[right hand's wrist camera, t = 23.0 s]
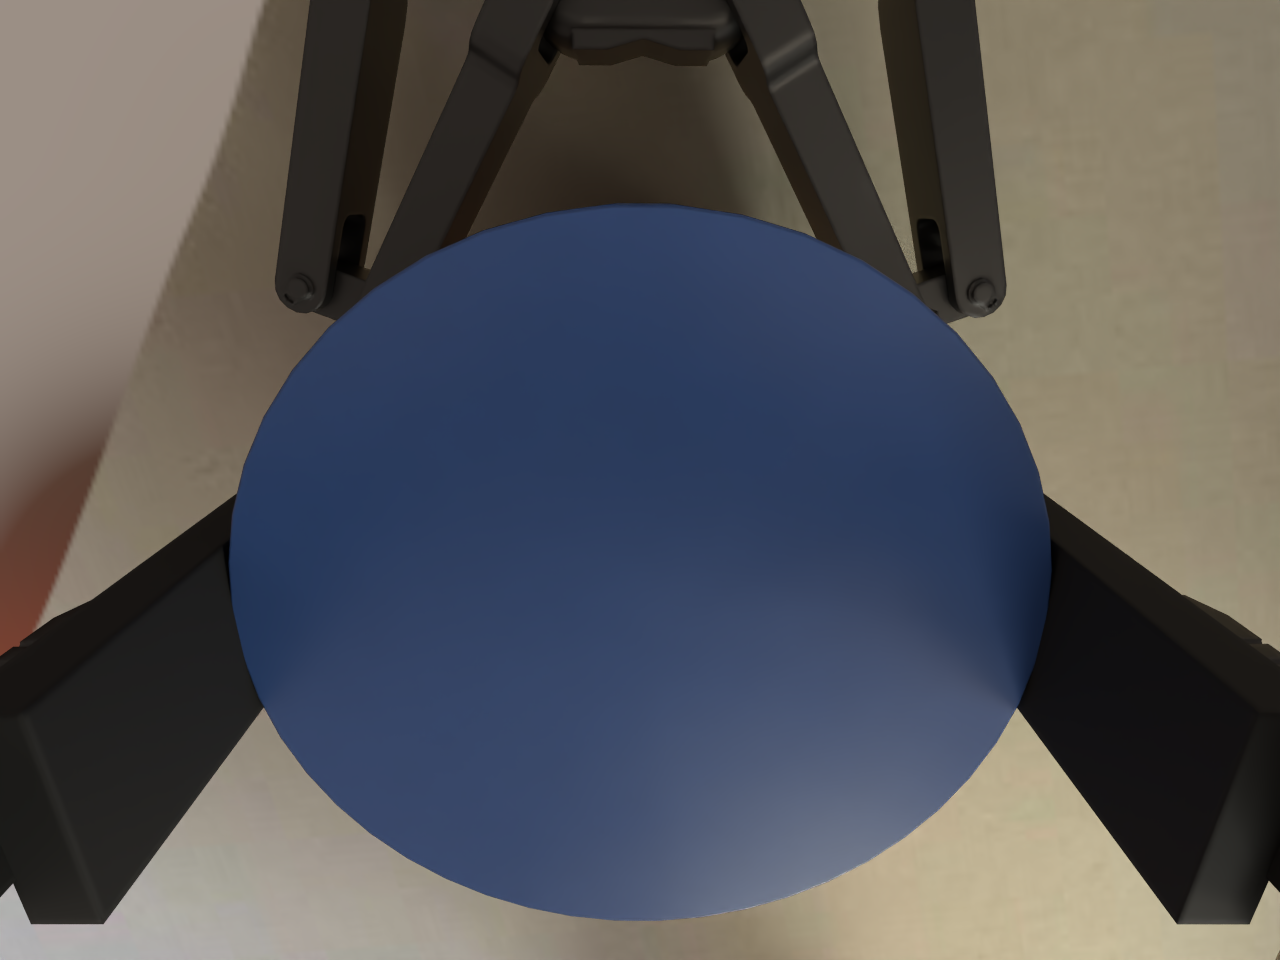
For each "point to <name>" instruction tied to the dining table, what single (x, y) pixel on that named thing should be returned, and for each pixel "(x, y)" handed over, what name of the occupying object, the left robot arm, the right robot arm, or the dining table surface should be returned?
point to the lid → (640, 562)
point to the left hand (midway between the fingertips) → (639, 557)
